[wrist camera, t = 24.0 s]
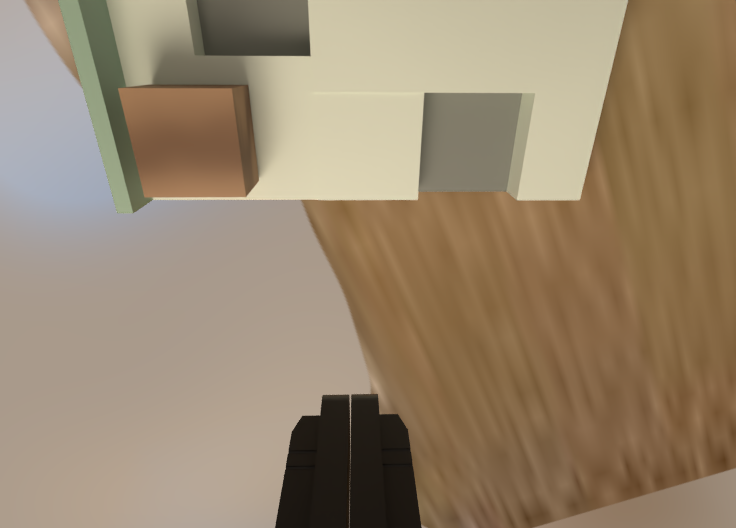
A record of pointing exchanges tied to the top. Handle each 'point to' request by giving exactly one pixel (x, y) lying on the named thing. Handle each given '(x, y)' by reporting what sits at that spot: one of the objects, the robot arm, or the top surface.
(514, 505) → the top surface
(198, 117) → the walnut block
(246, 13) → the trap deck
